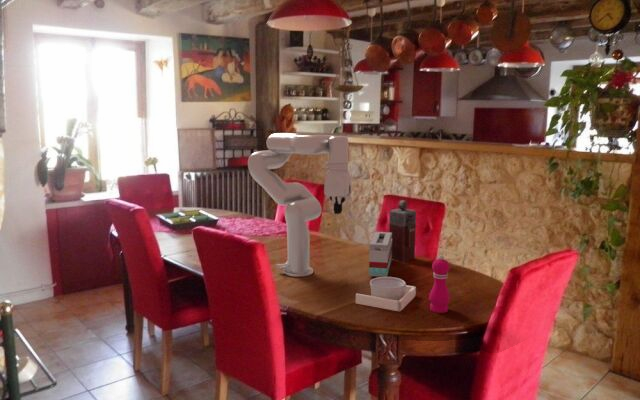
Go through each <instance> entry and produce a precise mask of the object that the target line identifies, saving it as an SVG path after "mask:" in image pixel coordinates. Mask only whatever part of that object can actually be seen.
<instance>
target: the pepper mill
mask: <svg viewBox="0 0 640 400" xmlns="http://www.w3.org/2000/svg"><path fill="white" fill-rule="evenodd" d="M431 268H432V271H433V275H432V276H433V279H434V283H433V286H432V288H431V290H430V291H429V292H430V293H429V294H428V295H429V296H428V299H429V301H430V304H429V305H430V306H429V309H430V311H432V312H434V313H437V314H443V313H447V312H448V311H449V305H448V304H449V303H450V302H451V295H450V292H449V289H448V286H447V279H448V278H449V277H448V276H449V273H448V272H449V271H450V269H451V267H450V263H449V262H448V260H447V259H445V256H444V255H443V254H440V255H438V258H437V259H435V260H434V261H433V262H432V265H431Z"/></svg>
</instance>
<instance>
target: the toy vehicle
mask: <svg viewBox="0 0 640 400" xmlns="http://www.w3.org/2000/svg"><path fill="white" fill-rule="evenodd" d="M368 252H369V254H368V256H369V258H368V260H369V261H368V262H369V263H368V277H375V278H378V277H388V275H389V270H390V267H391V265H392V261H393V260H392V259H391V258H392V233H390V232H389V231H387V232H385V231H374V233H373V235H372V238H371V239H370V242H369V250H368Z"/></svg>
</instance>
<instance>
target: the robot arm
mask: <svg viewBox="0 0 640 400" xmlns="http://www.w3.org/2000/svg"><path fill="white" fill-rule="evenodd" d="M265 142H266V147H267V150H259V151H255V152H253V153H251V154H250V156H249V157H248V159H247V168H248V172H249V174H250V177H252V179H253V180H254V181H255V182H256V183H257V184H258V185H260V187H262V189H264V191H265V192H266V193H267V194H268V196H270V197H271V198H272V199H273V201H274V202H275V203H276V204H278V205H279V206H280V207H281V206H283V207H284V206H285V208H284V218H285V222H286V238H287V241H286V242H287V244H286V245H287V246H286V247H287V248H286V249H287V253H286V254H287V257H286V258H287V260H286V261H285V262H283V263H276V269H279V270H283V274H285V275H286V276H290V277H295V278H296V277H297V278H299V277H307V276H311V275H313V273H314V269H313V268H312V267H310V229H309V227H308V226H307V222H308V221H309V222H310V221H313V220H316V219H319V217H320V216H321V214H322V212H323V211H322V205H321V203H320V201H319V200H318V199H317V198H316V197H315V196H314V195H313V194H312V193H311V191H310V190H309V189H308V188H307V187H306V186H305V185H303V184H302V183H301V182H298V181H297V182H296V181H295V182H285V181H284V180H282V178H281V177H280V176H279V175H278V174H276V173H275V172H273V171H272V170H273V169H279V168H281V167H283V166H284V164H286V162H288V160H289V159H290V158H291V156H292V155H293V154H294V155H310V156H311V155H312V156H313V155H315V156H316V155H321V154H328V163H326V164H325V168H327V169H328V170H326V172H325V176H324V177H325V178H324V189H323V193H324V195H325V196H324V197H325V198H326V199H329V200H330V201H331V203H332V204H333V212H334V213H333V214H335V215H340V214H342V211H343V204H344V202H345V201H349V200H351V199H352V197H351V195H352V180H351V173H350V171H349V138H348V136H346V135H345V136H344V135H332V134H315V135H314V134H311V135H307V134H306V135H302V134H301V133H299V132H276V133H275V132H274V133H272V134H270V135H269V136H268V137H267V139H266V141H265Z"/></svg>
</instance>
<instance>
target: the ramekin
mask: <svg viewBox="0 0 640 400" xmlns="http://www.w3.org/2000/svg"><path fill="white" fill-rule="evenodd" d="M406 285H407V284H406V282H405V280H403V279H401V278H399V277H394V276H393V277H392V276H387V277H375V278H374V277H373V278H372V279H371V280H370V281H369V287H370V294H371V295H370V296H375V297H380V298H386V299H391V300H397V301H399V300H400V299H401V298H402V297H403V296H404V291H405V287H406Z"/></svg>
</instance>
